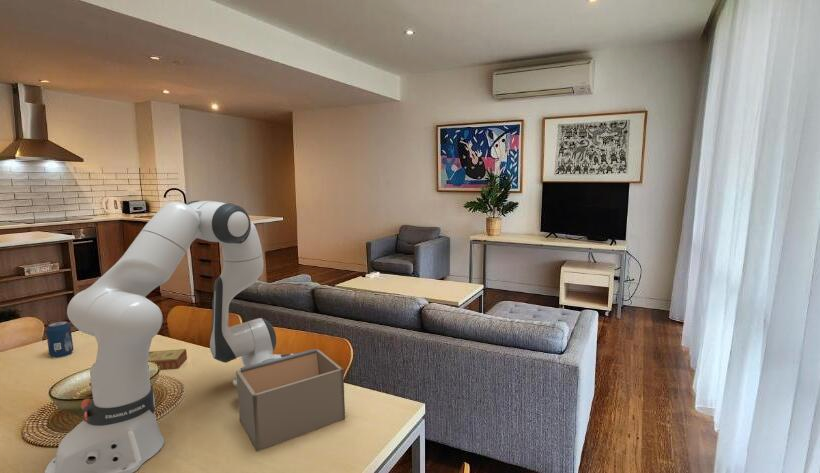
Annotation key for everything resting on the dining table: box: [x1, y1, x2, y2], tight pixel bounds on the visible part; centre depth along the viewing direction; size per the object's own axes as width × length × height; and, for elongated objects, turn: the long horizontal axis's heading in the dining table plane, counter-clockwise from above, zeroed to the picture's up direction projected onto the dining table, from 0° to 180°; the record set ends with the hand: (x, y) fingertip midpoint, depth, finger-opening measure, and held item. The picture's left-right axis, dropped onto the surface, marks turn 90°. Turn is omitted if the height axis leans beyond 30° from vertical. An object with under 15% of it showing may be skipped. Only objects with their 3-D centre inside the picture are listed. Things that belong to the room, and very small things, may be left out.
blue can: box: [45, 320, 74, 359], centre depth 155 cm, size 7×7×12 cm
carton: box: [148, 348, 188, 371], centre depth 146 cm, size 8×16×4 cm, turn 98°
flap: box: [239, 348, 319, 393], centre depth 117 cm, size 21×1×14 cm, turn 125°
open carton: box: [235, 349, 346, 452], centre depth 112 cm, size 23×16×14 cm
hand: (282, 388), depth 117 cm, fingers closed, pressing on flap
